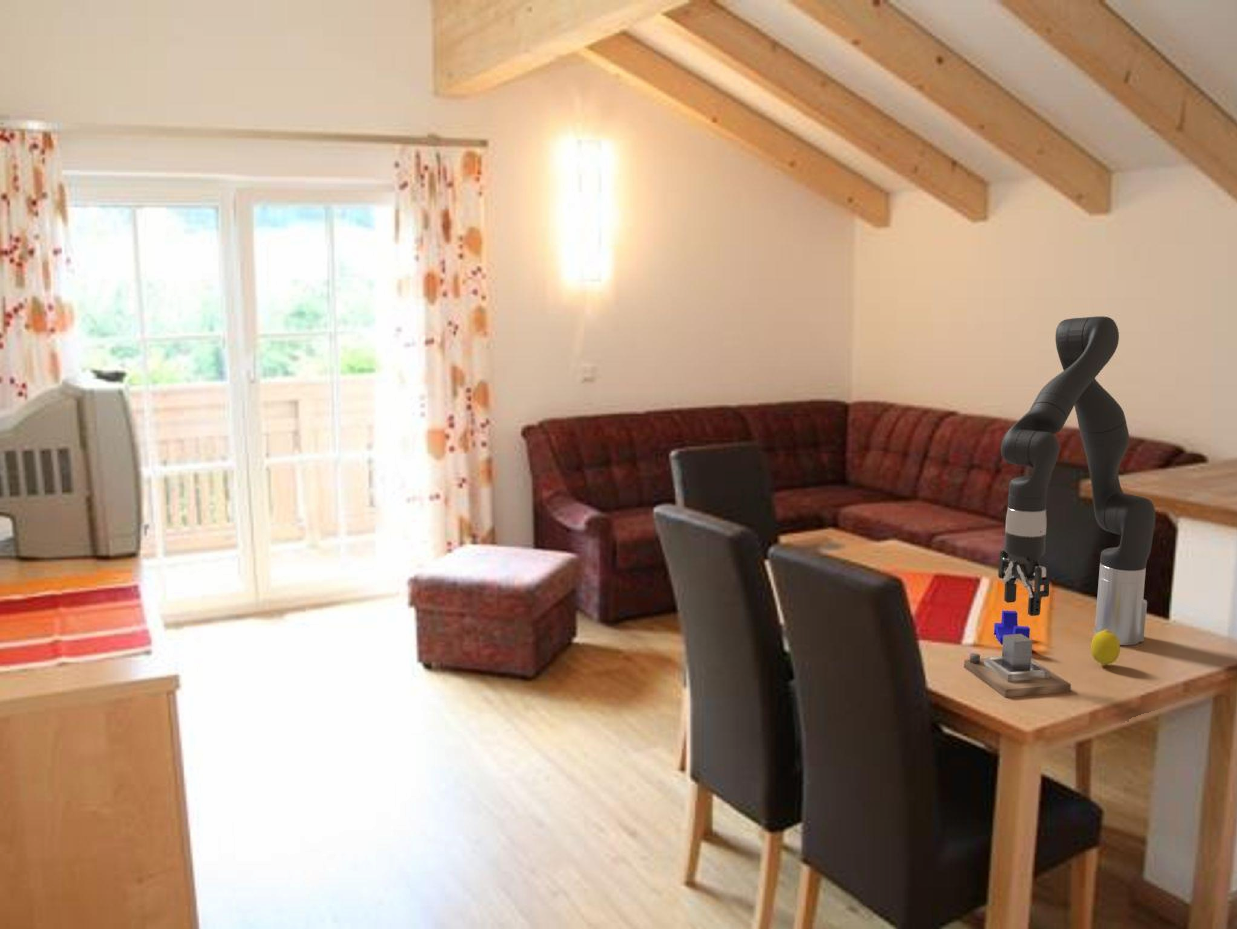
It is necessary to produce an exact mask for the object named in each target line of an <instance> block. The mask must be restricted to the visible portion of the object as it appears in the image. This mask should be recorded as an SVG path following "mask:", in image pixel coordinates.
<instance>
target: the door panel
mask: <svg viewBox="0 0 1237 929" xmlns="http://www.w3.org/2000/svg"><path fill="white" fill-rule="evenodd" d="M1001 663H1002V656H996V657H995V656H994V657H985V658H984V657H983V658H981V655H980V654H979V653H973V652H972V653H969V659H964V661H963V668H965V669H966V670H967V671H969V673H971V674H973V675H974V676H976V677H977V678H978V679H979V680H981V681H982V682H984V683H985V684H986V685H988V686H989V687H990V688H991V689H993V690H994V691H995V692H997V693H998V694H1000V695H1001V696H1002V697H1003V698H1011V697H1013V698H1014V697H1015V698H1016V697H1023V696H1025V697H1027V696H1035V695H1036V696H1037V695H1048V694H1062V693H1070V692H1071V688H1072V684H1071V683H1070V682H1068V681H1067V680H1065V679H1064V678H1062V677H1061V676H1059V675H1057V674H1056V673H1054V672H1052V671H1051V670H1050V669H1048V668H1046V667H1045V666H1044V665H1042V664H1040V663H1038V662H1037V661H1036V660H1034V659H1032V658H1031V668H1030V671H1020V672H1009V671H1007V670H1006V669H1004V668H1003V667H1001Z"/></svg>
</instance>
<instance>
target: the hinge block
mask: <svg viewBox="0 0 1237 929" xmlns="http://www.w3.org/2000/svg"><path fill="white" fill-rule="evenodd" d="M1032 651H1033V640H1032V639H1031V638H1030V637H1029V638H1027V637H1026V636H1024V635H1022V634H1012V635H1003V644H1002V648H1001V657H1002V663H1001V667H1003V668H1004V669H1006V670H1007V671H1009V672H1020V671H1030V668H1031V659H1032V655H1033V654H1032Z"/></svg>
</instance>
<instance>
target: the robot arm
mask: <svg viewBox="0 0 1237 929" xmlns="http://www.w3.org/2000/svg"><path fill="white" fill-rule="evenodd" d="M1055 330H1056V331H1055V346H1056V351H1057V354H1058V358H1059V361H1060V365H1061V368H1062V369H1063V371H1062V372H1060V373H1059V374H1057V375H1056V376H1055V377H1053V378H1052V379H1051V380H1049V381H1048V383H1046V384H1045V385H1044V386H1043V387H1042V388H1041V390H1040V391H1039V392H1038V394H1037V396H1036V398H1035V400H1034V401H1033V404H1032V405H1031V407H1030V408H1029V411H1027V412H1026V413H1025V414H1024V415H1023V416H1022V417H1020V419H1018V420H1017V421H1016V422H1015V423H1014V424H1013V425H1012V426H1011V427H1010V428H1009V429H1008V431H1006V432H1005V434H1004V436H1003V438H1002V439H1001V442H1000V443H1001V444H1000V454H1001V457H1002V458H1003V460H1004V461H1005V462H1006V463H1008V464H1009V465H1013V466H1014V465H1015V466H1023V467H1030V468H1033V472H1032V474H1031V475H1030V476H1029V475H1027V476H1017V477H1015V478H1012V479H1011V480H1010V482H1009V484H1008V498H1007V511H1006V516H1005V531H1004V550H1000V551H999V559H998V560H999V562H998V573H997V576H998V578H999V579H1001V580H1002V583H1003V584H1004V593H1003V594H1004V598H1003V600H1004V602H1005V603H1008V604H1009V603H1015V602H1016V601H1017V586H1018V585H1017V584H1016V583H1017V582H1018V580H1019V581H1021V582H1022V586H1023V587H1024V588H1026V591H1027V593H1028V601H1027V602H1028V603H1027V615H1029V616H1031V617H1035V616H1040V614H1041V607H1042V606H1041V605H1042V598H1046V597H1047V598H1048V597H1049V596H1050V578H1051V577H1050V567H1049V566H1048V565H1047V566H1041V565H1040V564H1041V563H1040V558H1041V557H1042V556H1044V555H1045V554H1046V540H1047V538H1046V537H1047V523H1048V522H1047V499H1048V489H1049V484H1050V481H1051V477H1052V473H1053V471H1054V468H1055V466H1056V464H1057V461H1058V458H1059V454H1060V447H1061V446H1060V442H1059V440H1058V438H1057V436H1056V435H1055V434H1058V433H1060V431H1061V430H1062V429H1063V428H1064V426H1065V424H1066V422H1067V420H1068V418H1069V416H1070V414H1071V413H1072V411H1073V409H1075V410H1074V411H1075V415H1076V419H1077V425H1078V428H1079V429H1078V430H1079V433H1080V438H1081V442H1082V445H1083V449H1084V454H1085V457H1086V462H1087V467H1088V473H1089V478H1090V482H1091V483H1090V486H1091V493H1092V502H1093V510H1094V516H1095V520H1096V522H1097V525H1098V526H1099V527H1100V528H1101V529H1102V530H1104V531H1106V532H1108V533H1111V534H1116V535H1120V543H1119V545H1118V546H1116V547H1107V548H1105V549H1103V550H1102V551H1101V552H1100V558H1099V559H1100V560H1099V574H1098V586H1097V597H1096V598H1097V599H1096V608H1095V609H1096V610H1095V622H1094V623H1095V624H1094V632H1093V636H1094V635H1095V634H1097V633H1098V632H1100V631H1104V630H1105V629H1107V630H1109V631H1110V632H1112V633H1113V634H1115V635H1116V636H1117V638H1118V640H1119V644H1120V646H1135V645H1137V644H1139V643H1140V642H1141V643H1142V642H1145V641H1144V640H1145V628H1146V618H1147V607H1148V600H1146V599H1144V596H1145V595H1144V594H1145V585H1146V584H1145V582H1146V581H1145V580H1146V569H1147V562H1148V560H1149V557H1150V554H1151V551H1152V545H1153V536H1154V532H1155V527H1156V526H1155V525H1156V508H1155V505H1154V503H1153V501H1152V500H1150V499H1148V498H1147V497H1144V496H1140V495H1139V496H1138V495H1134V494H1130V493H1124V492H1123V489H1122V486H1121V482H1120V478H1119V468H1120V466H1121V463H1122V461H1123V459H1124V457H1125V455H1126V453H1127V451H1128V449H1129V448H1128V447H1129V445H1130V434H1129V429H1128V424H1127V419H1126V415H1125V412H1124V410H1123V408H1122V407H1121V406H1120V404H1119V402H1118V401H1117V400H1116V399H1115V398H1114V397H1113V396H1112V394H1110V393H1109V392H1108V391H1107V390H1106V389H1105V388H1104V387H1103V386H1102V385H1101V384H1100V383H1099V382H1098V381H1097V379H1096V377H1097V376H1098V375H1099V373H1100V372H1101V371H1102V370H1103V369H1104V368H1105V367H1106V365H1107V364H1108V363H1109V362H1110V361H1111V359H1112V358H1113V357H1114V354H1115V353H1116V350H1117V348H1118V345H1119V341H1120V336H1119V334H1120V333H1119V328H1118V326H1117V323H1116V322H1115V320H1114V319H1112V318H1111V317H1109V316H1103V315H1102V316H1098V315H1097V316H1089V317H1074V318H1073V317H1072V318H1066V319H1063V320H1062V321H1061V320H1060V322H1059V323H1058V325H1057V327H1056V329H1055ZM1005 568H1006V569H1005ZM1042 586H1043V588H1042ZM1033 588H1034V589H1033Z"/></svg>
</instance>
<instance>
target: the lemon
mask: <svg viewBox="0 0 1237 929" xmlns="http://www.w3.org/2000/svg"><path fill="white" fill-rule="evenodd" d="M1090 643H1091V644H1090V653H1091V656H1092V658H1093V659H1094V660H1095V661H1096V662H1098V663H1099V664H1100V665H1101V666H1102V667H1106V666H1107V665H1110V664H1113V663H1114V662H1115V661H1117V659H1118V658H1119V655H1120V652H1121V645H1120V644H1119V640H1118V638H1117V636H1116V635H1115V634H1113V633H1112V632H1110V631H1109V630H1107V629H1105V630H1104V631H1100V632H1098V633H1097V634H1095V635H1094V634H1093V637H1092V640H1091V642H1090Z"/></svg>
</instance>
